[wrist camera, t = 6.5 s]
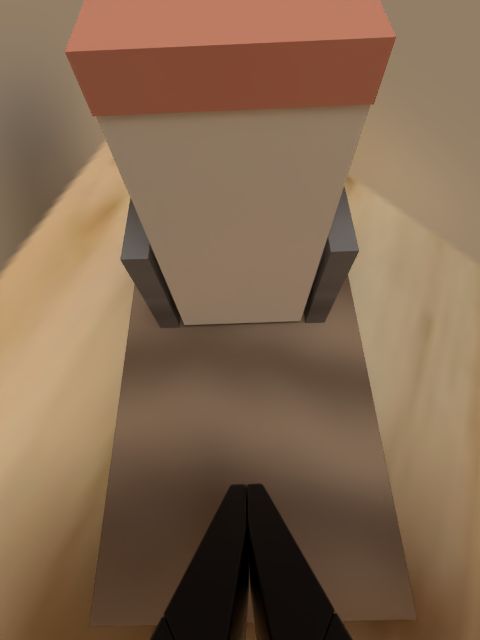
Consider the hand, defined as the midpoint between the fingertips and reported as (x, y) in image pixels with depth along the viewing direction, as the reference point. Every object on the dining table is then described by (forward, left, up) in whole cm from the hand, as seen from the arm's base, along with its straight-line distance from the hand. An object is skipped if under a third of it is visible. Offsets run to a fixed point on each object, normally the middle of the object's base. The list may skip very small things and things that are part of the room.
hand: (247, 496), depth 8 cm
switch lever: (+5, +8, -6) cm, 11 cm away
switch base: (+3, +4, -7) cm, 9 cm away
